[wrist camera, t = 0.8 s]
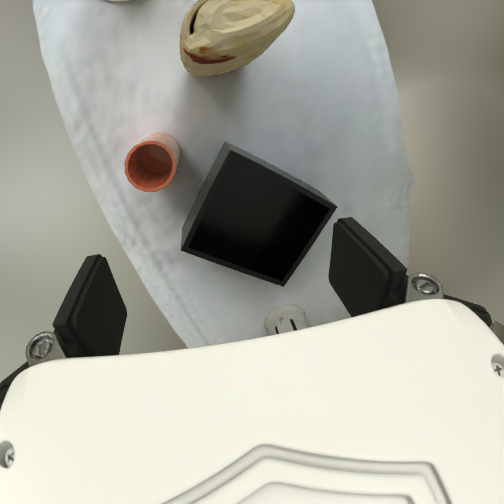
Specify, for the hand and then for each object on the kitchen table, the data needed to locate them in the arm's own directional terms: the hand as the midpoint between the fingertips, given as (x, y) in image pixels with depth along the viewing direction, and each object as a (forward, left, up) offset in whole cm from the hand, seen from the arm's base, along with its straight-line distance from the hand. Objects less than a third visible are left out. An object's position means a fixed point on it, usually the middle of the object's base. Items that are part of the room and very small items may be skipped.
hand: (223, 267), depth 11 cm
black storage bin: (+11, -6, -30) cm, 32 cm away
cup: (-5, -4, -30) cm, 31 cm away
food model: (-4, +12, -30) cm, 33 cm away
